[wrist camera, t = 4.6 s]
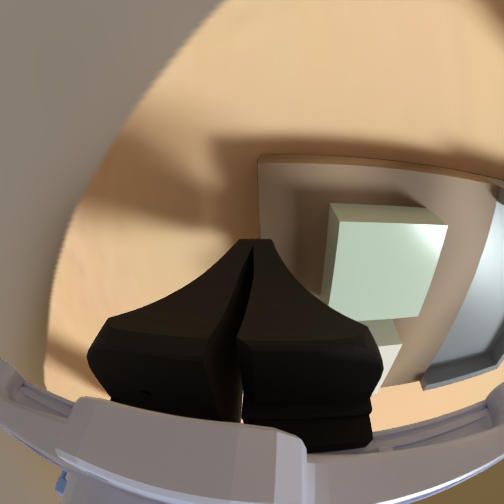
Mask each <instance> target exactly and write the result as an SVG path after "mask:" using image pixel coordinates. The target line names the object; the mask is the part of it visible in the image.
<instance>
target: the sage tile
mask: <svg viewBox="0 0 504 504" xmlns="http://www.w3.org/2000/svg"><path fill="white" fill-rule="evenodd" d="M446 230H447V225H446V224H445V223H444V222H443V221H442V220H441V219H439V218H438V217H437V216H436V215H435V214H433V213H432V212H431V211H430V210H429V209H427V208H420V207H405V206H388V205H368V204H340V203H330V206H329V220H328V232H327V243H326V253H325V262H324V271H323V279H322V287H321V295H320V296H321V301H322V302H323V303H325V304H326V305H328V306H329V307H331V308H333V309H334V310H336V311H338V312H339V313H341V314H343V315H345V316H347V317H349V318H351V319H353V320H355V321H368V320H382V319H395V318H406V317H417V316H418V315H419V313H420V310H421V308H422V305H423V303H424V300H425V297H426V295H427V292H428V289H429V286H430V284H431V281H432V278H433V275H434V272H435V269H436V266H437V262H438V259H439V256H440V252H441V249H442V245H443V242H444V238H445V234H446Z"/></svg>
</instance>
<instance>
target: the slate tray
mask: <svg viewBox="0 0 504 504" xmlns="http://www.w3.org/2000/svg"><path fill="white" fill-rule="evenodd" d="M480 176H482V175H480ZM482 177H484V178H486V179H488V180H489V181H491V182H493V183H495V184H497V185H499V186H500V188H499V193H498V198H497V203H496V207H495V212H494V216H493V220H492V224H491V227H490V231H489V234H488V238H487V241H486V244H485V247H484V251H483V254H482V257H481V259H480V262H479V265H478V268H477V271H476V273H475V276H474V278H473V281H472V283H471V286H470V288H469V291H468V293H467V295H466V298H465V300H464V302H463V304H462V306H461V309H460V311H459V313H458V315H457V317H456V319H455V321H454V323H453V325H452V327H451V329H450V331H449V333H448V335H447V336H446V338H445V340H444V342H443V344H442V345H441V347H440V349H439V351H438V352H437V354H436V356H435V357H434V359H433V361H432V362H431V364H430V366H429V367H428V369H427V370H426V372H425V373H424V375H423V376H422V378H421V379H420V384H421V386H422V389H423V391H425V390H429V389H433V388H437V387H441V386H445V385H448V384H452V383H455V382H459V381H462V380H465V379H469V378H472V377H475V376H478V375H481V374H483V373H486V372H489V371H492V370H494V369H497V368H498V366H499V365H500V364H501V362H502V361H503V360H504V181H503V180H499V179H495V178H491V177H487V176H482Z"/></svg>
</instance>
